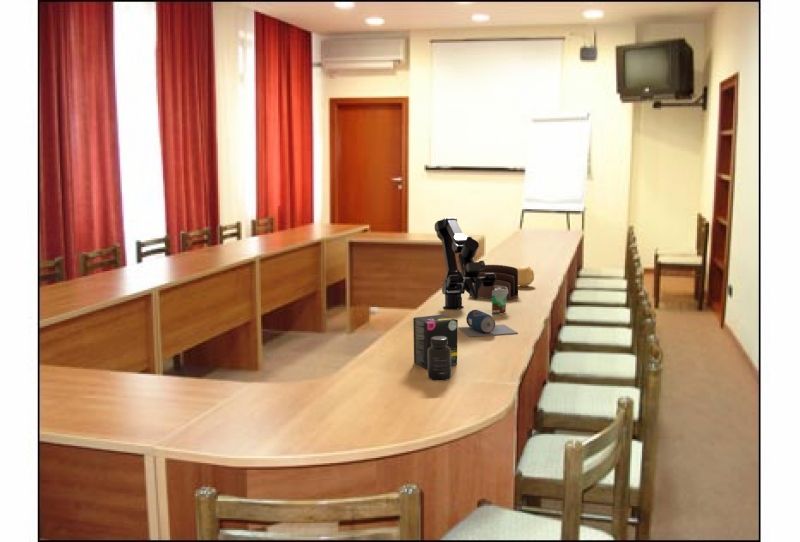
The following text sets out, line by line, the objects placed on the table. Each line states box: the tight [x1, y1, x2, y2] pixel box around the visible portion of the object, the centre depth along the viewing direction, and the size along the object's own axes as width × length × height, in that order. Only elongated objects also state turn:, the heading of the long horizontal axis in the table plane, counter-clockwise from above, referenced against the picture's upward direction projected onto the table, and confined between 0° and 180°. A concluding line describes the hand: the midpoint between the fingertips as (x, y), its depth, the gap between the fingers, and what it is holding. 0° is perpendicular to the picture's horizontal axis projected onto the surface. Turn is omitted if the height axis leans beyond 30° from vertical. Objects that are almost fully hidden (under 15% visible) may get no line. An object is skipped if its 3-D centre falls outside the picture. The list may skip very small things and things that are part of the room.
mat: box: [458, 323, 519, 338], centre depth 279 cm, size 14×18×1 cm
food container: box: [491, 285, 508, 315], centre depth 311 cm, size 12×6×10 cm, turn 168°
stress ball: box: [516, 265, 535, 288], centre depth 368 cm, size 10×10×10 cm
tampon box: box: [412, 314, 459, 371], centre depth 236 cm, size 11×9×15 cm
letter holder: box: [468, 264, 519, 301], centre depth 344 cm, size 10×20×14 cm, turn 60°
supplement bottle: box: [427, 336, 452, 381], centre depth 222 cm, size 7×7×12 cm
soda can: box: [466, 309, 496, 333], centre depth 278 cm, size 7×7×12 cm
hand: (476, 299), depth 291 cm, fingers closed
